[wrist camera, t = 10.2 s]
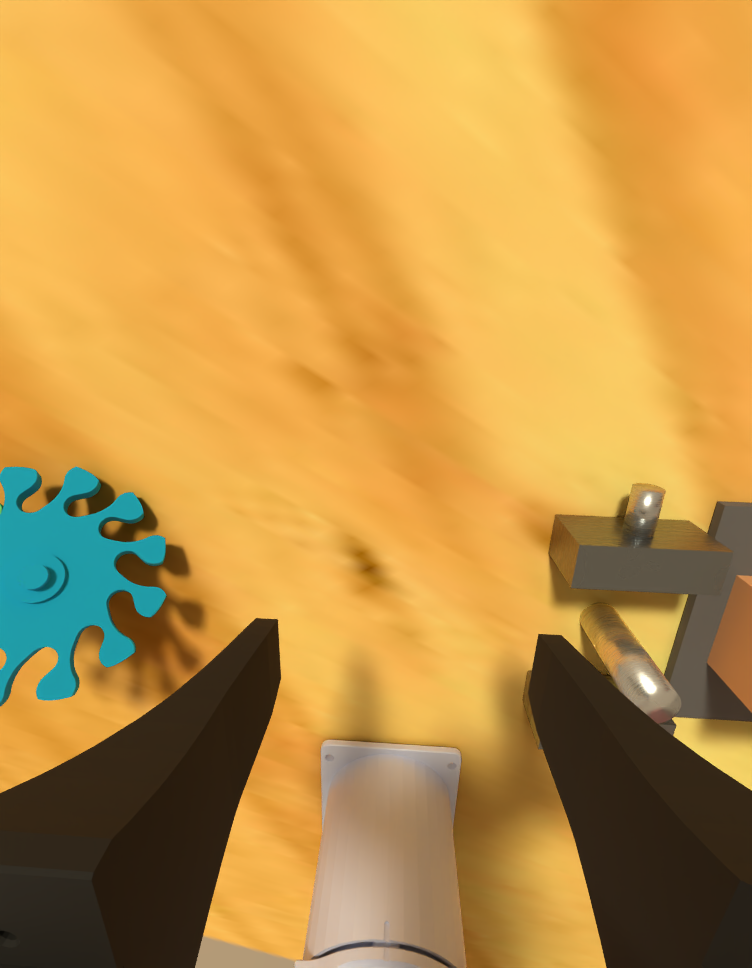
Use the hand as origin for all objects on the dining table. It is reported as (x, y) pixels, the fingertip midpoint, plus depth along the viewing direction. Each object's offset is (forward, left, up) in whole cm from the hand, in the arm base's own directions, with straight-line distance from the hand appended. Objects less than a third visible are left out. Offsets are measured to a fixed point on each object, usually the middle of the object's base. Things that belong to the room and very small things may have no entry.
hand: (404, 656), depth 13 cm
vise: (-5, -10, -9) cm, 15 cm away
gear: (-2, +16, -10) cm, 19 cm away
